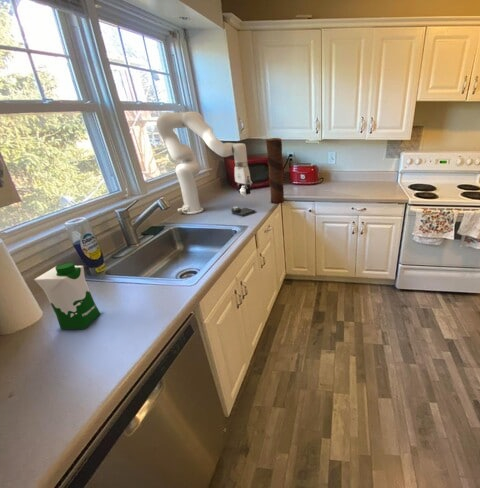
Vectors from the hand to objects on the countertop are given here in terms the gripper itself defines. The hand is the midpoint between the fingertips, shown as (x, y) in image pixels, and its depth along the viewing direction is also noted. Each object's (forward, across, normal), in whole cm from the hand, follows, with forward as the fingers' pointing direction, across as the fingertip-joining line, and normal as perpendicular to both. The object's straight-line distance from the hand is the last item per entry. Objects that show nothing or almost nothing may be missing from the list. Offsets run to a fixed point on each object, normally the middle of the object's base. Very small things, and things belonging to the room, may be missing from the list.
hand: (244, 192), depth 180 cm
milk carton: (+14, +41, -103) cm, 112 cm away
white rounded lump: (+2, 0, 0) cm, 2 cm away
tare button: (+11, -4, -5) cm, 13 cm away
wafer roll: (+14, -1, +31) cm, 34 cm away
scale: (+13, -1, -2) cm, 14 cm away
